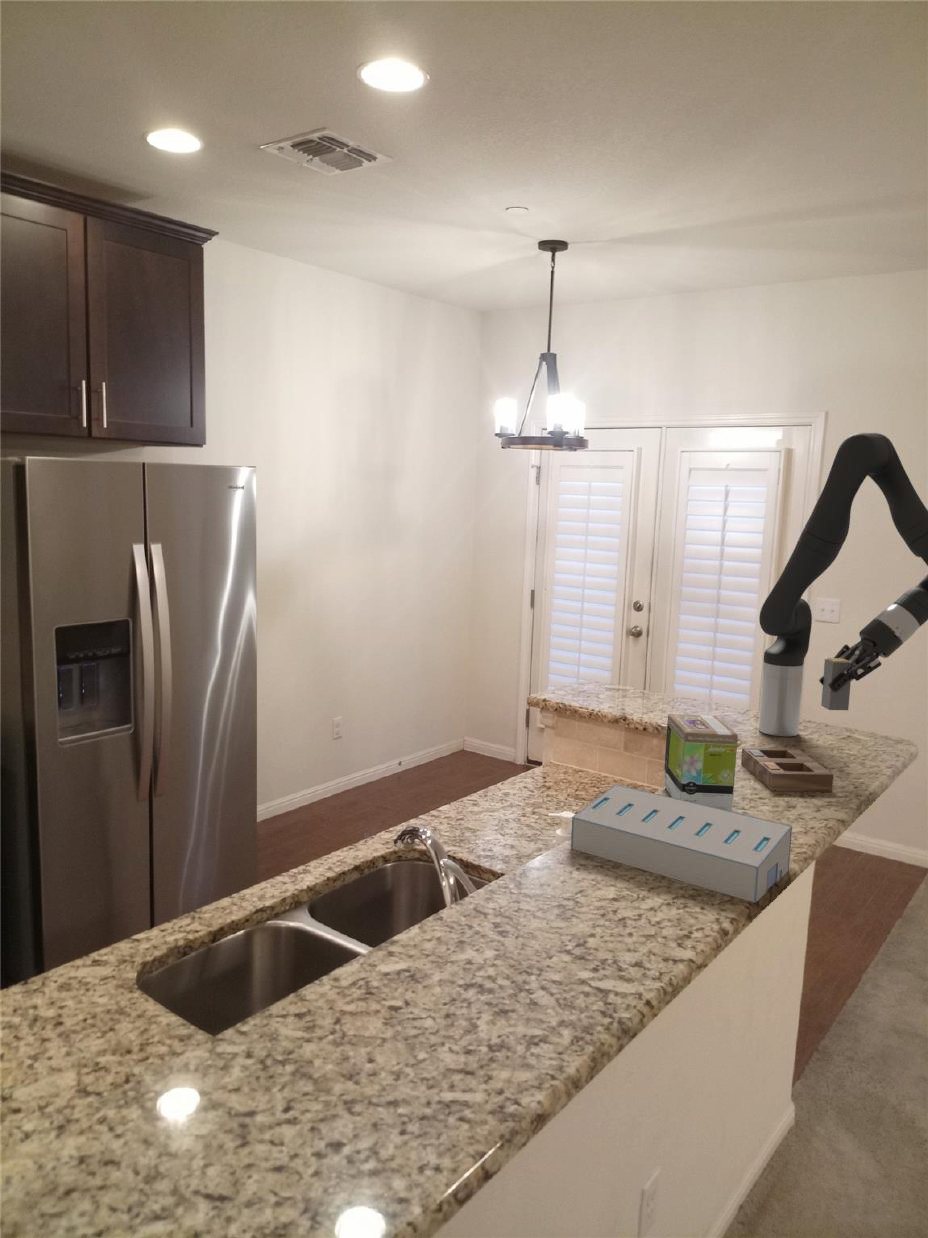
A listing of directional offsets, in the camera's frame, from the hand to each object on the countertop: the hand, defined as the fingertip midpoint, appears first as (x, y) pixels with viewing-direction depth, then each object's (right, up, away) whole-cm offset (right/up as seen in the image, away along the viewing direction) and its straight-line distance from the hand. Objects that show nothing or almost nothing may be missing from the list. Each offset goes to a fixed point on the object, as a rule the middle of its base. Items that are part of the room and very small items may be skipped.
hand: (827, 686), depth 187 cm
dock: (-10, -18, -4) cm, 21 cm away
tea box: (-32, -20, -18) cm, 42 cm away
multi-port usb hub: (-43, -24, -47) cm, 68 cm away
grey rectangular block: (+2, -5, +1) cm, 5 cm away
